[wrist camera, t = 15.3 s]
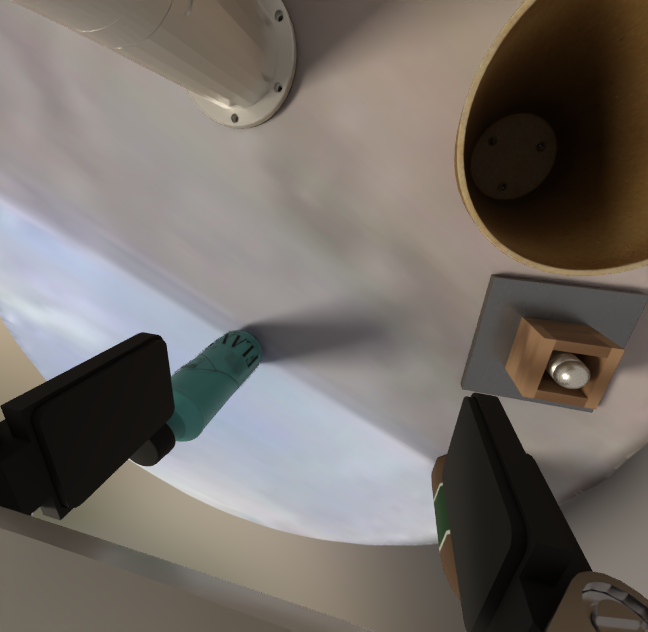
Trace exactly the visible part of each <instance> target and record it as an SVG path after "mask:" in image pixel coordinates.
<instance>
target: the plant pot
mask: <svg viewBox="0 0 648 632" xmlns="http://www.w3.org/2000/svg"><path fill="white" fill-rule="evenodd" d="M489 141H493V145H490V144H489ZM541 143H543V146H541V147H538V145H539V144H541ZM454 161H455V175H456V181H457V186H458V190H459V192H460V195H461V198H462V201H463V203H464V205H465V207H466V209H467V211H468V213H469V214H470V216H471V218H472V219H473V221H474V223H475V224H476V225H477V227H478V228H479V230H480V231H481V232H482V233H483V235H484V236H485V237H486V238H487V239H488V240H489V241H490V242H491V243H492V244H493V245H494V246H495V247H496V248H498V249H499V250H500V251H502V252H503V253H505V254H506V255H508V256H509V257H511V258H512V259H514V260H516V261H518V262H520V263H522V264H524V265H527V266H530V267H533V268H536V269H539V270H542V271H545V272H550V273H555V274H562V275H574V276H591V275H604V274H611V273H618V272H623V271H628V270H633V269H636V268H639V267H643V266H646V265H648V0H525V1H524V3H523V4H522V5H521V6H520V7H519V8H518V9H517V11H516V12H515V13H514V14H513V16H512V17H511V18H510V19H509V21H508V22H507V23H506V25H505V26H504V27H503V29H502V30H501V31H500V33H499V34H498V36H497V37H496V39H495V41H494V42H493V44H492V45H491V47H490V49H489V50H488V52H487V54H486V56H485V57H484V59H483V61H482V63H481V65H480V67H479V69H478V71H477V73H476V76H475V78H474V80H473V82H472V85H471V88H470V90H469V93H468V96H467V99H466V102H465V105H464V108H463V111H462V115H461V119H460V122H459V127H458V131H457V137H456V144H455V160H454ZM504 184H506V188H505V189H504V190H502V186H503V185H504Z"/></svg>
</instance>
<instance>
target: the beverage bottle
mask: <svg viewBox="0 0 648 632" xmlns="http://www.w3.org/2000/svg"><path fill="white" fill-rule="evenodd" d="M226 333H227V332H226ZM226 333H225V335H224V334H223V335H224V336H223V337H220V339H219V340H217V341H214V342H215V343H213V344H210V345H209V347H208V348H207V349H205V351H203V352H202V353H201V352H200V353H201V354H200V355H199V356H197V357H196V358H195V359H193V360H192V361H191V362H190V361H189V363H188V364H185V366H182V367H181V368H182V369H181V368H180V369H181V370H180V371H179V369H178V370H177V371H178V372H177V373H175V374H174V375H172V377H171V382H172V389H173V396H174V404H175V410H174V413H173V415H172V417H171V418H170V419H169V420H168V421H167V422H166V423H165V424H164V425H163V426H162V427H161V428H160V429H159V430H158V431H157V432H156V433H155V434H154V435H153V436H152V437H150V438H149V439H148V440H147V441H146V442H145V443H144V444H143V445H142V446H141V447H140V448H139V449H138V450H137V451H136V452H135V453H134V454H133V455H132V456H131V457H130V459H131V460H132V461H134V462H135V463H137V464H139V465H142V466H153V465H155V464H156V463H158V462H159V461H160V460H161V459H162V458H163V457H164V456H165V455H167V454H168V453H169V452H170V451H171V450H172V449H173V447H174V446H175V441H190V440H193V439H195V438H197V437H198V436H199V435H200V434H201V432H202V431H203V429H204V428H205V427H206V425H207V424H208V423H209V422H210V421H211V419H212V418H213V417H214V416H215V415H216V413H217V412H218V411H219V410H220V409H221V408H222V406H223V405H224V404H225V403H226V402H227V400H228V399H229V398H230V397H231V396H232V395H233V393H234V392H235V391H236V390H237V389H238V388H239V387H240V386H241V385H242V383H243V382H244V381H247V380H246V379H248V376H249V375H251V373H252V372H254V370H255V368H256V367H257V366H258V365H259V363H261V362H260V360H261V356H262V351H261V347H260V344H259V343H258V341H257V340H256V339H255V338H254V337H253V336H252V335H251V334H249V333H247V332H244V331H238V330H237V331H232V332H230V331H229V333H227V334H226ZM256 369H257V368H256ZM252 374H253V373H252Z"/></svg>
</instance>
